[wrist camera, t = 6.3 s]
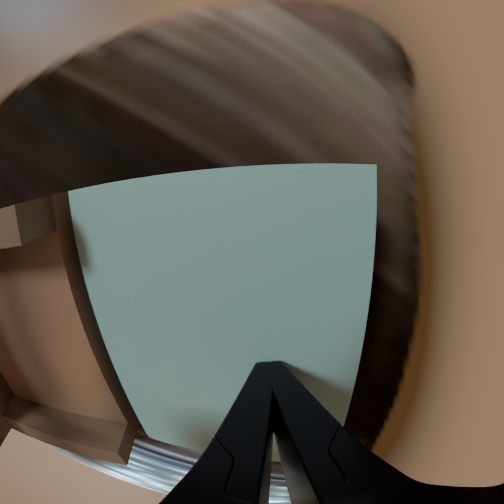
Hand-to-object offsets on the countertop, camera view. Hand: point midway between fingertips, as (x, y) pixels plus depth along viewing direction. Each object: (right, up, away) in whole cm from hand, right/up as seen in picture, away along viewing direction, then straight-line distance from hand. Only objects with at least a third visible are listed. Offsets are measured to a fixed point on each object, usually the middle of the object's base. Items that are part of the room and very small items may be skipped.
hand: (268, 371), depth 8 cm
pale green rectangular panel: (-6, 0, +2) cm, 6 cm away
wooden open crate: (-12, 0, +2) cm, 12 cm away
